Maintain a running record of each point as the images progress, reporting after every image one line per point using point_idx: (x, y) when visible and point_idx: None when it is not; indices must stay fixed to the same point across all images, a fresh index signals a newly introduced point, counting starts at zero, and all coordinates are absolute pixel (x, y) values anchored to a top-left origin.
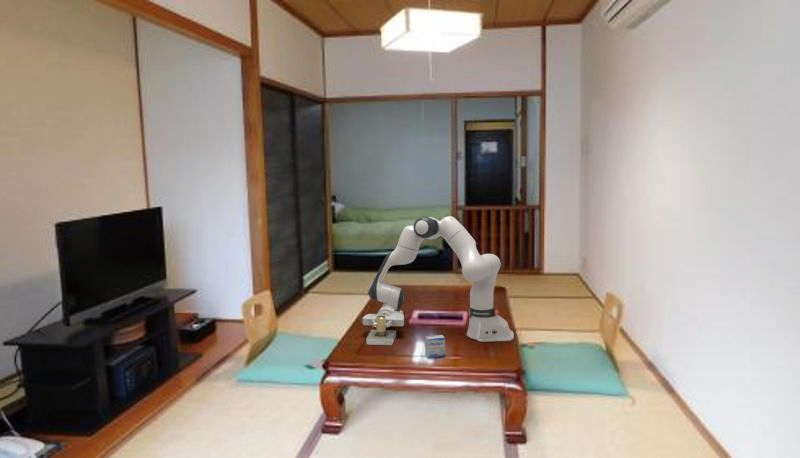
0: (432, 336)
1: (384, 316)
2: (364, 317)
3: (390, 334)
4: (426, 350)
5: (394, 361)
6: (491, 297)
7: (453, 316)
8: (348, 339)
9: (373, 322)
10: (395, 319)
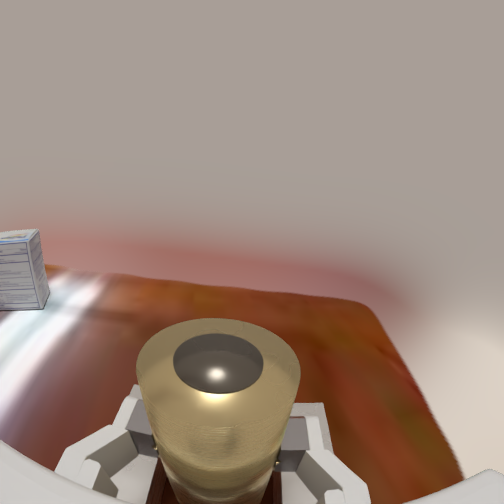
0: (10, 237)
1: (151, 374)
2: (501, 485)
3: (129, 468)
4: (42, 281)
5: (158, 291)
6: None
7: None
8: (451, 464)
9: (334, 461)
10: (4, 445)
